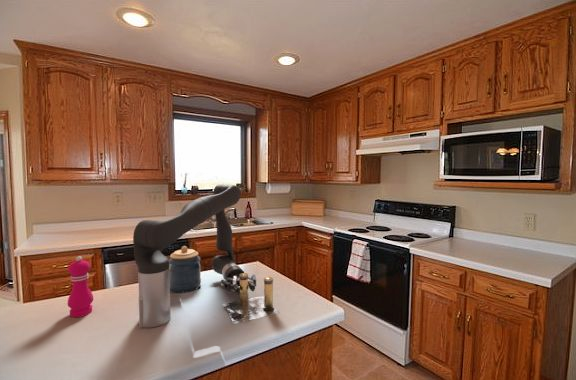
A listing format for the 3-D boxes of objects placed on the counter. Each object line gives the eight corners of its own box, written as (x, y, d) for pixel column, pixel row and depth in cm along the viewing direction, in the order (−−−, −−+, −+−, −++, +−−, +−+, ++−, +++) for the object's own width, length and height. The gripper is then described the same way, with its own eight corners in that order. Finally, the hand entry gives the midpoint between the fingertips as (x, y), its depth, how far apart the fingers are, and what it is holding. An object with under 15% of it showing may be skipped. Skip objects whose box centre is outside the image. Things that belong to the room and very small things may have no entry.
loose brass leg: (241, 306, 100) (240, 276, 99) (238, 303, 103) (238, 273, 102) (249, 305, 101) (249, 275, 101) (246, 301, 104) (246, 272, 103)
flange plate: (233, 327, 89) (233, 323, 88) (222, 307, 102) (222, 304, 102) (279, 316, 96) (279, 312, 96) (263, 298, 109) (263, 295, 109)
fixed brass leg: (266, 312, 96) (266, 280, 95) (262, 308, 99) (262, 277, 98) (274, 310, 97) (274, 279, 97) (271, 306, 100) (270, 276, 99)
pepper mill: (91, 306, 103) (89, 252, 102) (95, 313, 98) (93, 256, 96) (66, 312, 98) (64, 256, 97) (69, 320, 93) (67, 260, 91)
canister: (200, 279, 129) (200, 241, 128) (201, 291, 116) (200, 248, 115) (170, 283, 124) (169, 243, 123) (167, 295, 112) (166, 251, 111)
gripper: (215, 267, 111) (226, 283, 96) (250, 262, 117) (265, 276, 102) (215, 286, 111) (226, 304, 96) (250, 280, 118) (265, 296, 102)
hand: (246, 289), depth 99 cm, fingers open, 4 cm apart
